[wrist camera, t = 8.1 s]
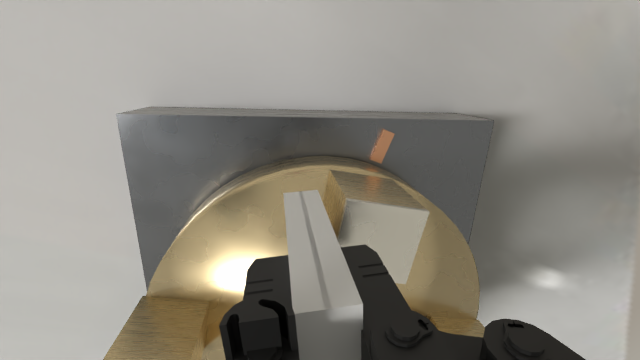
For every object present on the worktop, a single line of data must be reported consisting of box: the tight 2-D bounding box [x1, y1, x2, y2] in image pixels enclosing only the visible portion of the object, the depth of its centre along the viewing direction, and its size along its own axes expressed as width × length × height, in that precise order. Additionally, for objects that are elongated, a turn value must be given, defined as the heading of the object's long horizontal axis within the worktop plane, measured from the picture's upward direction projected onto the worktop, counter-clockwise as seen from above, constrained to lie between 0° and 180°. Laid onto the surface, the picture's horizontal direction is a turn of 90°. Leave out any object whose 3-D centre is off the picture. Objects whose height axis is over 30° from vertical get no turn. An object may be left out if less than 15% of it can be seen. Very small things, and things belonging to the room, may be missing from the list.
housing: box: [116, 107, 494, 291], centre depth 21 cm, size 20×22×4 cm
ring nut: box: [103, 156, 485, 360], centre depth 15 cm, size 18×18×8 cm
